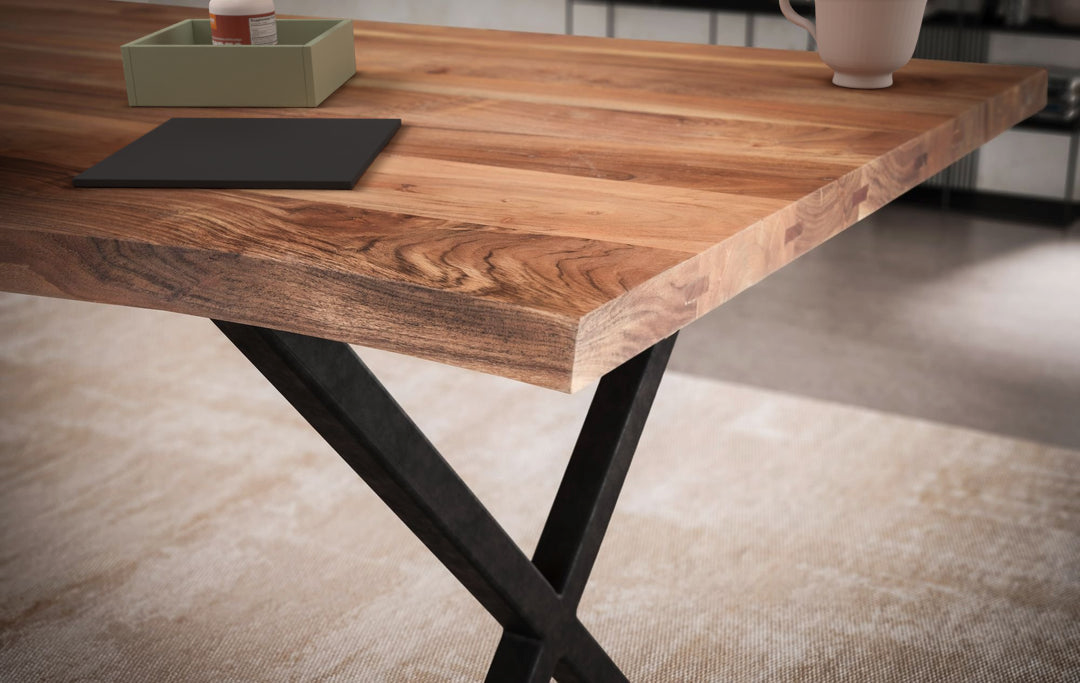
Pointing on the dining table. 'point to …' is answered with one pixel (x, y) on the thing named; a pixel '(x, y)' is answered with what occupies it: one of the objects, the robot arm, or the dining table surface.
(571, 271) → the dining table surface
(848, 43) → the teacup
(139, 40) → the crate
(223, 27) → the pill bottle
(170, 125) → the mat
